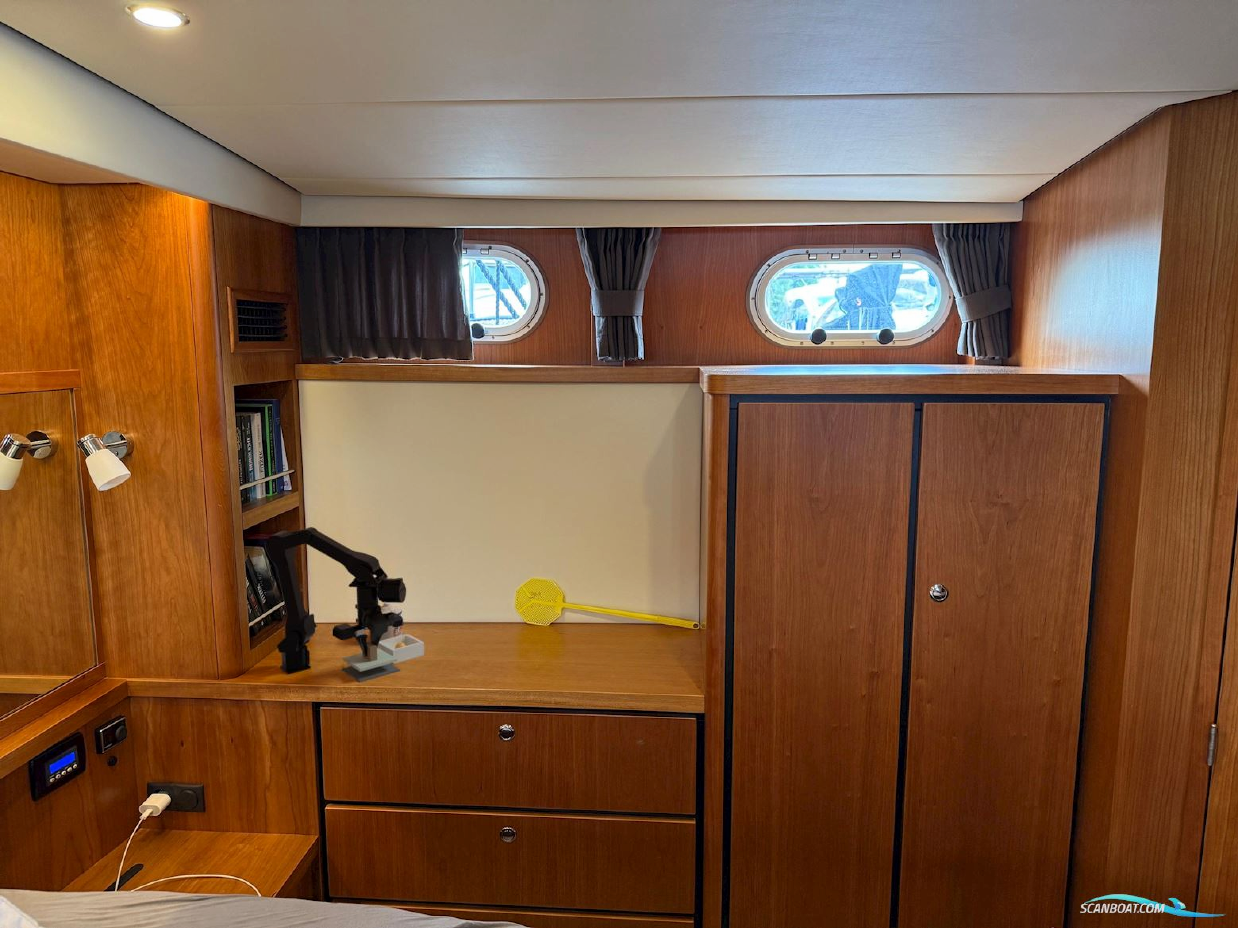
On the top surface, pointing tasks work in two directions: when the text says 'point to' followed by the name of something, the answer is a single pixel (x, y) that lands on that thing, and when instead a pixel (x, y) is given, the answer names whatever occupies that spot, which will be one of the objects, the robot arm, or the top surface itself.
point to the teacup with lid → (391, 630)
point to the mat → (370, 672)
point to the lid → (369, 658)
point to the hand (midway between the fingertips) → (369, 654)
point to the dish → (402, 647)
